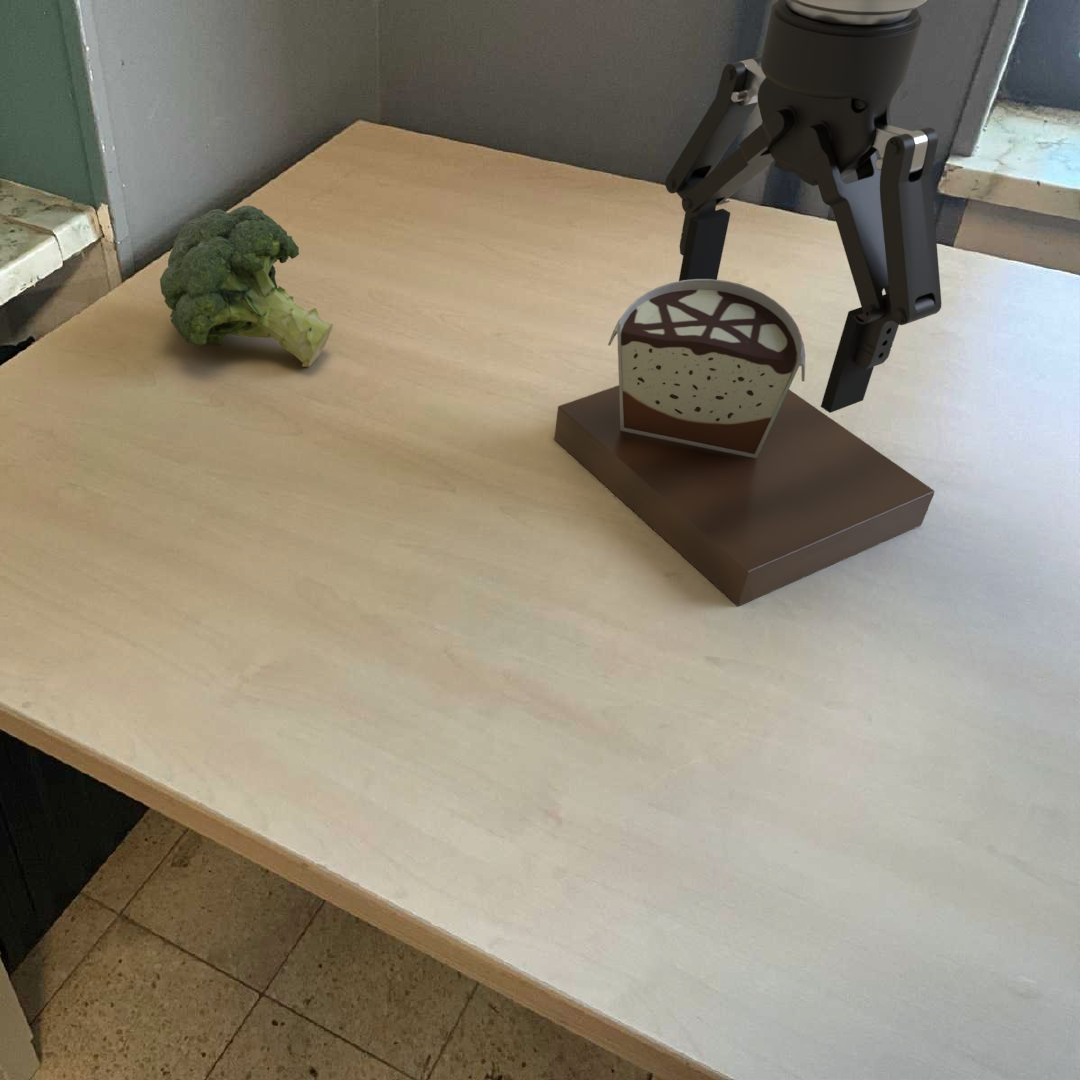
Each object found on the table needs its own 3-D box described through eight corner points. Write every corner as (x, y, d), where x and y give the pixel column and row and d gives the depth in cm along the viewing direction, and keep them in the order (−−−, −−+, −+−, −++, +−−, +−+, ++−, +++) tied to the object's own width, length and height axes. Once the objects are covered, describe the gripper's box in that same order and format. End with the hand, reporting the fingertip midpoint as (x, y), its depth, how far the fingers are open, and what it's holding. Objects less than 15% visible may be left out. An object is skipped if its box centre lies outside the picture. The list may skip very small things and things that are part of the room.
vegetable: (262, 399, 87) (109, 276, 87) (283, 421, 99) (150, 313, 100) (364, 272, 86) (210, 150, 87) (372, 310, 99) (238, 203, 100)
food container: (793, 398, 82) (825, 290, 74) (779, 463, 79) (811, 358, 70) (619, 365, 85) (632, 259, 77) (599, 426, 82) (610, 322, 74)
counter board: (921, 525, 78) (935, 491, 76) (738, 606, 73) (747, 572, 71) (721, 379, 91) (729, 346, 89) (553, 439, 86) (557, 405, 84)
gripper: (640, -45, 68) (598, 282, 82) (998, 90, 51) (867, 472, 65) (739, -63, 70) (682, 257, 84) (1111, 59, 54) (962, 433, 67)
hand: (762, 351), depth 75 cm, fingers open, 13 cm apart
